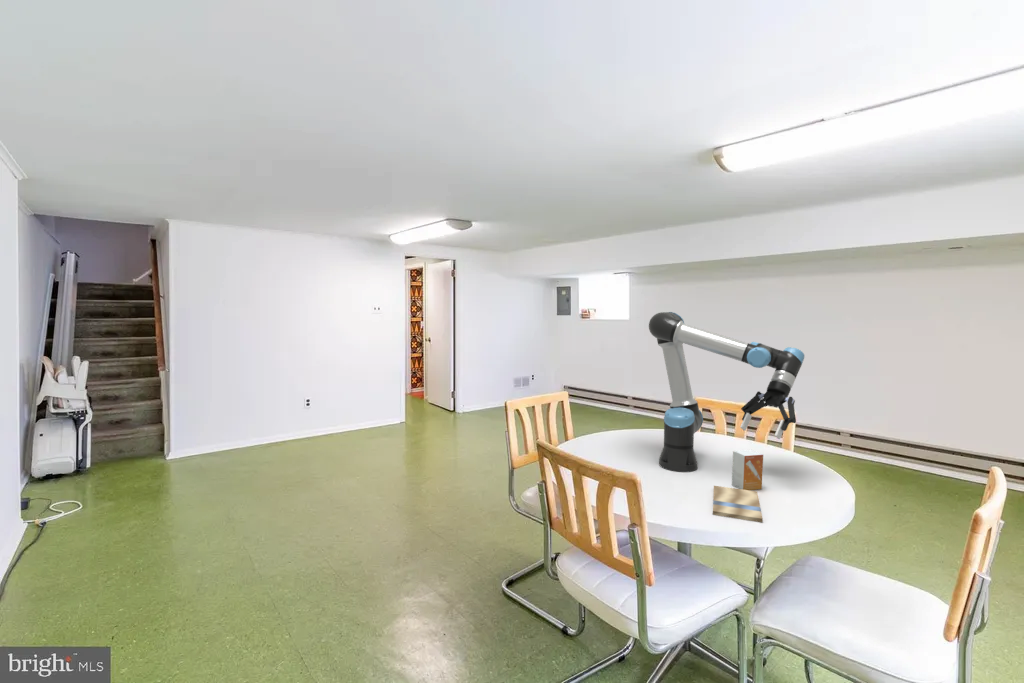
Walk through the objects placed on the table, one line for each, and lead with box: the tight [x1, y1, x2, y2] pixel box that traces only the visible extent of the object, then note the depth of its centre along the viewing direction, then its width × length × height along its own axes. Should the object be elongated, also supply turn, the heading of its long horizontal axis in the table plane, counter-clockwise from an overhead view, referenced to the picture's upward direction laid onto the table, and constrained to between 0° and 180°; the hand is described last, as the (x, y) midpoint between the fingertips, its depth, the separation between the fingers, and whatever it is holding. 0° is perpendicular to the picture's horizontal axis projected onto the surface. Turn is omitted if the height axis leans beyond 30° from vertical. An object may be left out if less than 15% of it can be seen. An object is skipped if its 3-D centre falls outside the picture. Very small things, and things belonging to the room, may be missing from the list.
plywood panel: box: [712, 485, 764, 523], centre depth 159 cm, size 14×24×1 cm, turn 156°
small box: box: [731, 449, 764, 491], centre depth 174 cm, size 8×6×13 cm
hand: (759, 433), depth 178 cm, fingers open, 13 cm apart
